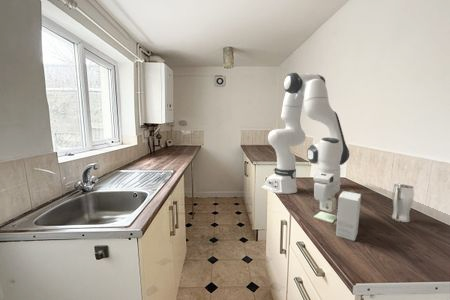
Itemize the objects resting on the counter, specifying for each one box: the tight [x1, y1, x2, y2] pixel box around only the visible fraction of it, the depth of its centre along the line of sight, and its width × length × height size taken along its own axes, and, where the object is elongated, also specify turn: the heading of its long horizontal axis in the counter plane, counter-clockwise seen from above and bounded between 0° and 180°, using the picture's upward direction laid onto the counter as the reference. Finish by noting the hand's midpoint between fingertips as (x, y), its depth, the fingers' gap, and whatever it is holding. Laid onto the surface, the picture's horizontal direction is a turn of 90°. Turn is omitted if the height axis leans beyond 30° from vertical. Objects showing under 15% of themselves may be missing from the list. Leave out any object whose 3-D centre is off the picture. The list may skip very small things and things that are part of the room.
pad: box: [313, 210, 337, 224], centre depth 96 cm, size 8×8×1 cm
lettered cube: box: [319, 197, 337, 213], centre depth 95 cm, size 5×5×5 cm
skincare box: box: [335, 190, 362, 242], centre depth 80 cm, size 8×7×16 cm
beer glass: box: [391, 183, 415, 223], centre depth 92 cm, size 7×7×15 cm
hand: (327, 205), depth 95 cm, fingers closed on lettered cube, 5 cm apart
